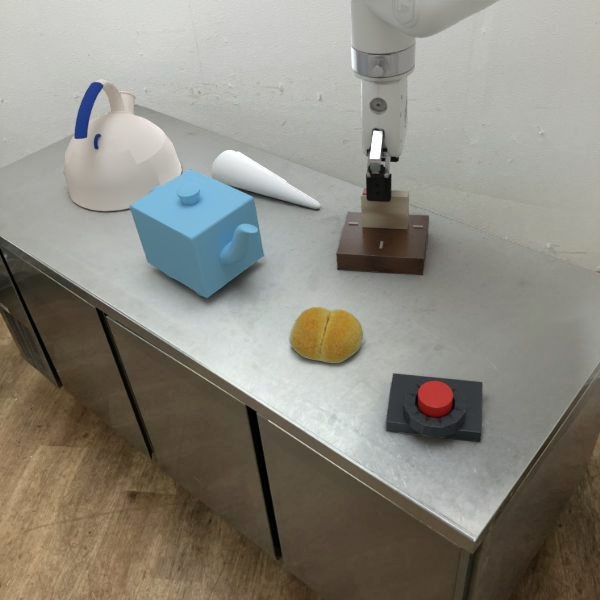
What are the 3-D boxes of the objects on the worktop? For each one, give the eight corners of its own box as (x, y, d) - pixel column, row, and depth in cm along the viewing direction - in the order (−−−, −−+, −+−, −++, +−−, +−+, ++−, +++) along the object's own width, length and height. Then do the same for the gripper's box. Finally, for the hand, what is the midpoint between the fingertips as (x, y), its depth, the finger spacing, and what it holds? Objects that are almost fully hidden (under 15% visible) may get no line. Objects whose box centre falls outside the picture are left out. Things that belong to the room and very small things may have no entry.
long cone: (295, 236, 101) (211, 187, 110) (322, 219, 105) (238, 173, 114) (297, 206, 98) (210, 157, 107) (324, 189, 101) (238, 144, 110)
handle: (408, 222, 93) (409, 189, 89) (407, 229, 92) (408, 195, 88) (363, 220, 95) (362, 187, 91) (362, 227, 94) (360, 193, 90)
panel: (429, 222, 98) (430, 205, 96) (423, 275, 89) (423, 257, 87) (350, 218, 101) (349, 201, 98) (337, 269, 92) (335, 252, 90)
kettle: (195, 149, 122) (173, 54, 109) (162, 213, 107) (133, 111, 95) (95, 150, 125) (63, 58, 113) (50, 212, 110) (7, 114, 98)
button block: (481, 391, 74) (484, 371, 71) (480, 452, 68) (483, 432, 65) (393, 382, 76) (392, 362, 74) (384, 440, 70) (384, 421, 68)
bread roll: (356, 370, 78) (354, 347, 75) (285, 359, 80) (281, 337, 77) (370, 322, 83) (369, 300, 81) (303, 313, 86) (300, 291, 83)
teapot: (139, 264, 97) (112, 186, 88) (194, 227, 103) (175, 150, 93) (240, 326, 85) (221, 243, 76) (296, 281, 91) (286, 198, 82)
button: (452, 392, 70) (453, 382, 69) (451, 419, 67) (452, 409, 66) (419, 389, 71) (419, 379, 70) (416, 415, 68) (416, 405, 67)
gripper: (408, 90, 70) (404, 218, 82) (420, 28, 82) (416, 148, 94) (339, 89, 72) (346, 215, 83) (362, 28, 84) (365, 146, 95)
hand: (383, 179), depth 88 cm, fingers open, 9 cm apart
